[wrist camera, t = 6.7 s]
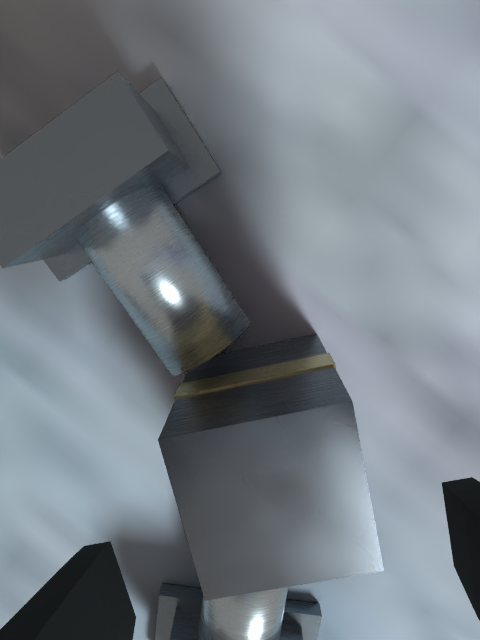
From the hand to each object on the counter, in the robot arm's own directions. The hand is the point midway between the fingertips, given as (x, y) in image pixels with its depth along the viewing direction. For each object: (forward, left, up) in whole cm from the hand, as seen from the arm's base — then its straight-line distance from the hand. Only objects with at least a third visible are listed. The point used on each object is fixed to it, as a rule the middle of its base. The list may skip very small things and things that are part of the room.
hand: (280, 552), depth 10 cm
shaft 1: (+3, -6, -7) cm, 10 cm away
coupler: (0, 0, -7) cm, 7 cm away
